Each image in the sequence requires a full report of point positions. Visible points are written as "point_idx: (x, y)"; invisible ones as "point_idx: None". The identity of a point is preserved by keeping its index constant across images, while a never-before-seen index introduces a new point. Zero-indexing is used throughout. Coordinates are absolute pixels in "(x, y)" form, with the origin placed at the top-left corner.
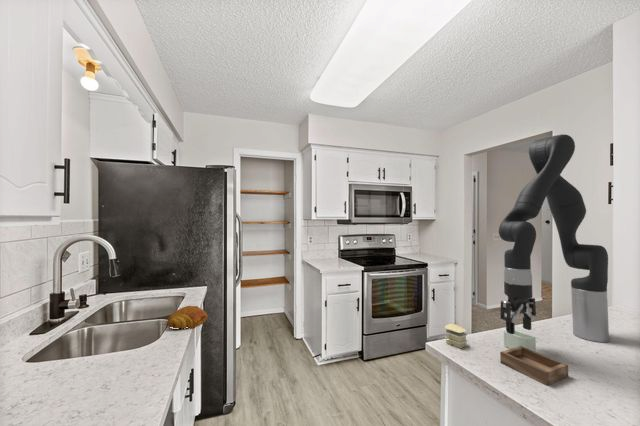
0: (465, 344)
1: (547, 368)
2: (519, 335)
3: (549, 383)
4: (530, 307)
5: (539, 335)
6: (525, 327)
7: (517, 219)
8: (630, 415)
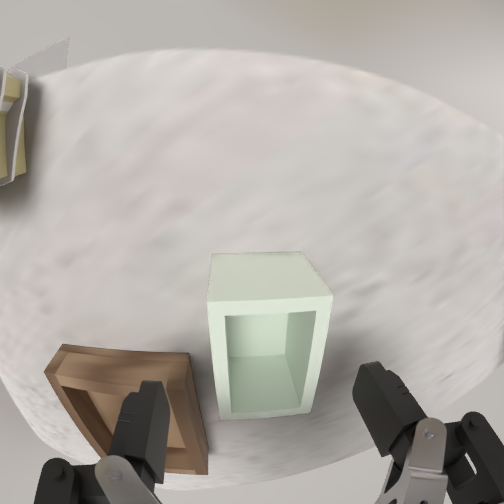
0: (18, 173)
1: (176, 432)
2: (303, 335)
3: None
4: (463, 492)
5: (482, 239)
6: (362, 380)
7: None
8: (180, 489)
